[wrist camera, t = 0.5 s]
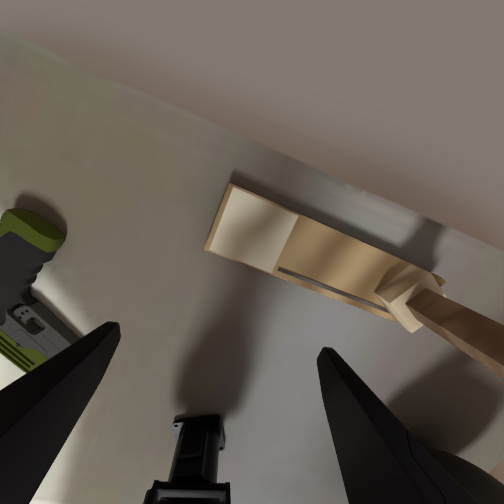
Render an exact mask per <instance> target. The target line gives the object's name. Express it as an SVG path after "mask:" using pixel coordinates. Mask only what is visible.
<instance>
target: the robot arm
mask: <svg viewBox="0 0 504 504" xmlns="http://www.w3.org/2000/svg"><path fill="white" fill-rule="evenodd" d="M120 338H121V334H120V326H119V323H118V322H111V321H108V322H106V323H104V324H102V325H101V326H99V327H98V328H96V329H95V330H93V331H92V332H90V333H88V334H87V335H85V336H84V337H82V338H81V339H79V340H78V341H76V342H75V343H73V344H71V345H70V346H68V347H67V348H65V349H64V350H62V351H61V352H59V353H57V354H56V355H54V356H53V357H51V358H50V359H48V360H47V361H45V362H44V363H42V364H40V365H39V366H37V367H36V368H34V369H33V370H31V371H30V372H28V373H26V374H25V375H23V376H22V377H20V378H19V379H17V380H16V381H14V382H12V383H11V384H9V385H8V386H6V387H5V388H3V389H2V390H0V504H29V503H30V501H31V500H32V498H33V496H34V494H35V493H36V491H37V489H38V488H39V486H40V484H41V482H42V481H43V479H44V477H45V476H46V474H47V472H48V471H49V469H50V467H51V465H52V464H53V462H54V460H55V459H56V457H57V455H58V454H59V452H60V450H61V448H62V447H63V445H64V443H65V442H66V440H67V438H68V436H69V435H70V433H71V431H72V430H73V428H74V426H75V425H76V423H77V421H78V419H79V418H80V416H81V414H82V413H83V411H84V409H85V408H86V406H87V404H88V402H89V401H90V399H91V397H92V396H93V394H94V392H95V390H96V389H97V387H98V385H99V384H100V382H101V380H102V378H103V376H104V374H105V372H106V370H107V367H108V365H109V363H110V361H111V359H112V357H113V354H114V352H115V350H116V348H117V346H118V344H119V341H120ZM317 367H318V373H319V379H320V386H321V392H322V398H323V402H324V407H325V411H326V415H327V419H328V422H329V426H330V430H331V434H332V438H333V442H334V446H335V450H336V454H337V458H338V462H339V466H340V470H341V474H342V478H343V482H344V486H345V490H346V494H347V498H348V502H349V504H479V503H478V502H477V501H476V500H475V499H474V498H473V497H472V496H471V495H470V494H469V493H468V492H467V491H466V490H465V489H464V488H463V487H462V486H461V485H460V484H459V483H458V482H457V481H456V480H455V479H454V478H453V477H452V476H451V475H450V474H449V473H448V472H447V471H446V470H445V469H444V468H443V467H442V466H441V465H440V464H439V463H438V462H437V461H436V460H435V459H434V458H433V457H432V456H431V455H430V454H429V452H428V451H427V450H426V449H425V448H424V447H423V446H422V445H421V444H420V443H419V442H418V441H417V440H416V439H415V437H414V436H413V435H412V434H411V433H410V432H409V431H408V430H407V429H405V427H404V425H403V424H402V423H401V422H400V421H399V420H398V419H397V418H396V417H395V416H394V415H393V413H392V412H391V411H390V410H389V409H388V408H387V407H386V406H385V405H384V404H383V402H382V401H381V400H380V399H379V398H378V397H377V396H376V395H375V394H374V393H373V392H372V390H371V389H370V388H369V387H368V386H367V385H366V384H365V383H364V382H363V381H362V379H361V378H360V377H359V376H358V375H357V374H356V373H355V372H354V371H353V370H352V368H351V367H350V366H349V365H348V364H347V363H346V362H345V361H344V360H343V359H342V358H341V356H340V355H339V354H338V353H337V352H336V351H335V350H334V349H333V348H330V347H324V348H322V350H321V352H320V354H319V356H318V358H317ZM172 427H173V431H174V435H175V439H176V443H177V445H176V449H175V453H174V458H173V462H172V466H171V470H170V474H169V479H168V482H161V481H159V480H154V483H153V486H152V488H151V489H149V490H148V491H147V493H146V496H145V499H144V503H143V504H231V499H230V482H225V483H217V471H218V456H219V451H222V450H224V448H225V443H224V437H223V430H222V423H221V417H220V416H219V415H213V416H205V417H197V418H189V419H181V420H175V421H174V422H173V425H172Z"/></svg>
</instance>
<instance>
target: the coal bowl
mask: <svg viewBox="0 0 504 504" xmlns="http://www.w3.org/2000/svg"><path fill="white" fill-rule="evenodd" d="M424 448H425V447H424ZM425 449H426V450H427V451H428V452H429V454H430V455H431V456H432V457H433V458H434V459H435V460H436V461H437V462H438V463H439V464H440V465H441V466H442V467H443V468H444V469H445V470H446V471H447V472H448V473H449V474H450V475H451V476H452V477H453V478H454V479H455V480H456V481H457V482H458V483H459V484H460V485H461V486H462V487H463V488H464V489H465V490H466V491H467V492H468V493H469V494H470V495H471V496H472V497H473V498H474V499H475V500H476V501H477V502H478V503H479V504H504V485H503V484H502V483H501V482H499V481H498V480H497V479H495V478H494V477H493V476H491V475H490V474H488V473H487V472H485V471H484V470H482V469H481V468H479V467H477V466H475V465H474V464H472V463H470V462H468V461H466V460H464V459H462V458H460V457H458V456H456V455H453V454H450V453H448V452H445V451H441V450H437V449H432V448H425Z"/></svg>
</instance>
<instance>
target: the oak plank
mask: <svg viewBox="0 0 504 504" xmlns="http://www.w3.org/2000/svg"><path fill="white" fill-rule="evenodd" d="M204 250H207V251H210V252H212V253H215V254H218V255H220V256H223V257H226V258H228V259H231V260H234V261H236V262H239V263H242V264H244V265H247V266H249V267H252V268H255V269H257V270H260V271H263V272H265V273H268V274H271V275H273V276H276V277H279V278H281V279H284V280H287V281H289V282H292V283H295V284H297V285H300V286H302V287H305V288H308V289H310V290H313V291H316V292H318V293H321V294H324V295H326V296H329V297H332V298H334V299H337V300H340V301H342V302H345V303H348V304H350V305H353V306H356V307H358V308H361V309H363V310H366V311H369V312H371V313H374V314H377V315H379V316H382V317H385V318H387V319H390V320H393V321H395V320H394V318H393V317H392V316H391V314H390V313H389V312H388V310H387V309H386V308H385V306H384V305H383V304H382V302H381V301H380V300H379V298H378V297H377V296H376V295H375V293H374V292H375V291H377V290H378V289H379V288H381V287H382V286H383V285H385V284H386V283H387V282H389V281H390V280H391V279H392V278H394V277H395V276H396V275H398V274H399V273H400V272H402V271H403V270H404V269H406V268H407V267H408V266H409V265H412V266H415V265H413V264H411V263H408V262H406V261H404V260H402V259H399V258H397V257H395V256H393V255H390V254H388V253H386V252H384V251H381V250H379V249H377V248H375V247H372V246H370V245H368V244H366V243H364V242H361V241H359V240H357V239H355V238H352V237H350V236H348V235H346V234H343V233H341V232H339V231H337V230H334V229H332V228H330V227H328V226H325V225H323V224H321V223H319V222H316V221H314V220H312V219H310V218H307V217H305V216H303V215H301V214H298V213H296V212H294V211H292V210H289V209H287V208H285V207H283V206H281V205H278V204H276V203H274V202H272V201H269V200H267V199H265V198H263V197H260V196H258V195H256V194H254V193H251V192H249V191H247V190H245V189H242V188H240V187H238V186H236V185H233V184H231V183H229V184H228V187H227V190H226V192H225V195H224V198H223V200H222V203H221V206H220V208H219V211H218V213H217V216H216V219H215V221H214V224H213V227H212V229H211V232H210V235H209V237H208V240H207V242H206V245H205V248H204ZM415 267H417V266H415ZM418 268H420V267H418ZM420 269H422V268H420ZM423 270H424V269H423ZM425 271H426V270H425ZM428 272H429V271H428ZM430 273H431V272H430ZM431 274H432V275H435V274H433V273H431ZM395 322H397V321H395Z"/></svg>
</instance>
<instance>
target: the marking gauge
mask: <svg viewBox="0 0 504 504" xmlns="http://www.w3.org/2000/svg"><path fill="white" fill-rule="evenodd" d="M443 284H445V281H444V280H443V279H442V278H441V277H440V276H438V275H432V274H431V273H430V272H428V271H425V270H423V269H420V268H418V267H415V266H412V265H409V266H408V267H407V268H406V269H404V270H403V271H402V272H400V273H399V274H398V275H396V276H395V277H394V278H392V279H391V280H390V281H389V282H387V283H386V284H385V285H383V286H382V287H381V288H379V289H378V290H377V291H375V292H374V293H375V295H376V296H377V297H378V298H379V300H380V301H381V302H382V304H383V305H384V306H385V308H386V309H387V310H388V312H389V313H390V314H391V316H392V317H393V318H394V320H395V321H397V322H398V323H399V324H401V325H402V326H403V327H405V328H406V329H407V330H408V331H410V332H411V333H413V332H414V331H416V330H417V329H419V328H420V327H421V326H423V325H425V326H426V327H428V328H429V329H431V330H432V331H434V332H435V333H437V334H438V335H440V336H441V337H443V338H444V339H446V340H447V341H448V342H450V343H451V344H453V345H454V346H456V347H457V348H459V349H460V350H462V351H463V352H465V353H466V354H468V355H469V356H471V357H472V358H474V359H475V360H476V361H478V362H479V363H481V364H482V365H484V366H485V367H487V368H488V369H490V370H491V371H493V372H494V373H496V374H497V375H499V376H500V377H502V378H503V379H504V325H502V324H500V323H498V322H496V321H494V320H491V319H489V318H487V317H485V316H483V315H481V314H479V313H477V312H475V311H473V310H471V309H469V308H466V307H464V306H462V305H460V304H458V303H456V302H454V301H452V300H450V299H448V298H447V297H446V296H445V294H444V293H443V291H442V289H441V288H440V287H441V286H442V285H443Z"/></svg>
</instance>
